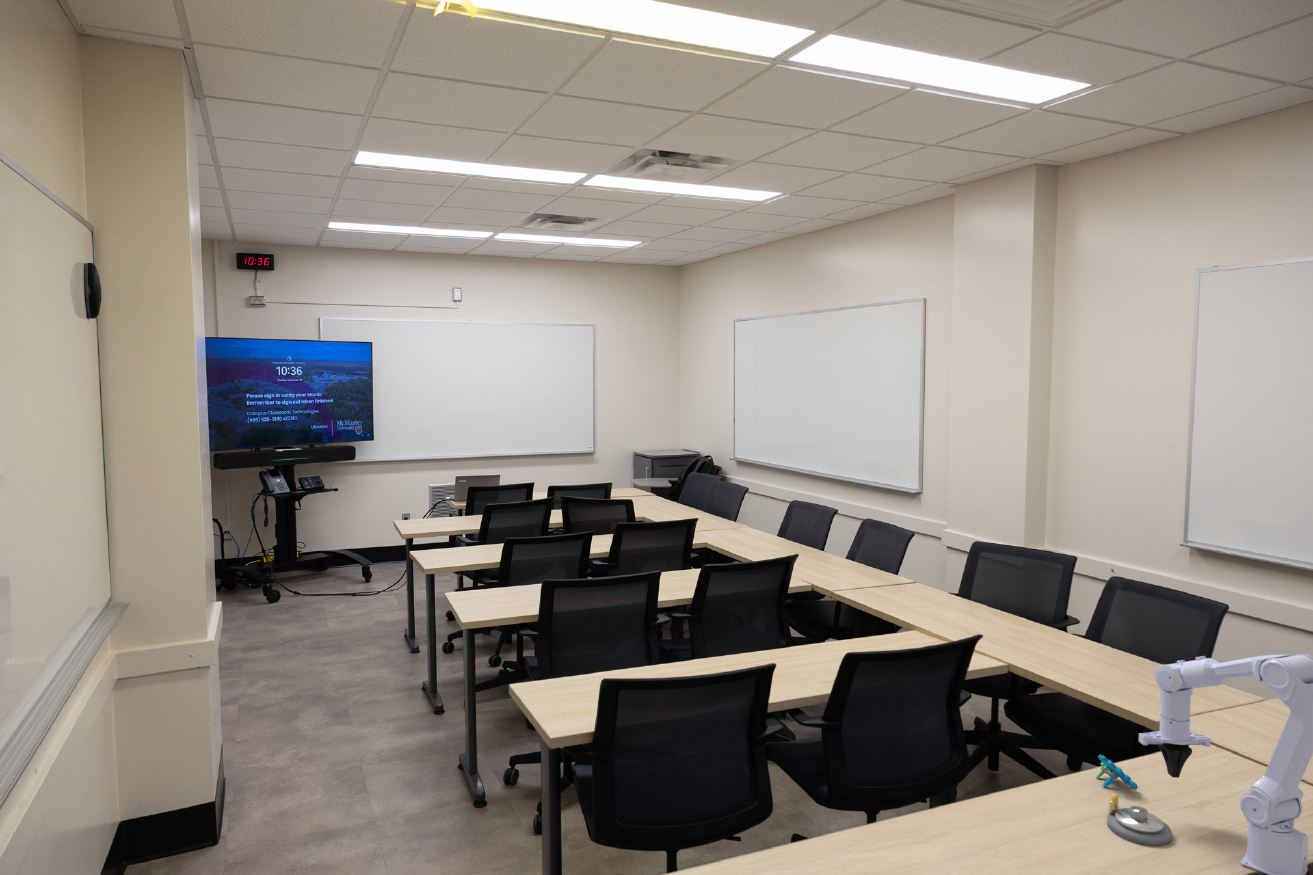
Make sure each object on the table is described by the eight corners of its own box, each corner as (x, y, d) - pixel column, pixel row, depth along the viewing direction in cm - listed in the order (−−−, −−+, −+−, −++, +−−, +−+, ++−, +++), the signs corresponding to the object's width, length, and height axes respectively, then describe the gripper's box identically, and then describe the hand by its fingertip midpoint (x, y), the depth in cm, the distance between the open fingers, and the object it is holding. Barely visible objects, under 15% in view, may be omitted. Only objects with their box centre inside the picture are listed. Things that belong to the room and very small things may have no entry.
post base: (1178, 831, 171) (1179, 811, 170) (1160, 852, 163) (1161, 831, 163) (1118, 810, 180) (1118, 791, 180) (1098, 829, 172) (1099, 809, 172)
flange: (1172, 826, 169) (1172, 810, 169) (1147, 837, 165) (1147, 820, 165) (1122, 803, 179) (1123, 788, 179) (1097, 813, 175) (1098, 797, 175)
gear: (1148, 791, 185) (1115, 759, 186) (1130, 809, 185) (1098, 777, 186) (1123, 775, 196) (1092, 746, 197) (1106, 792, 196) (1076, 762, 197)
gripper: (1197, 710, 180) (1195, 767, 180) (1132, 708, 181) (1130, 766, 181) (1217, 722, 173) (1215, 782, 173) (1149, 721, 174) (1147, 780, 174)
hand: (1173, 775), depth 177 cm, fingers closed
